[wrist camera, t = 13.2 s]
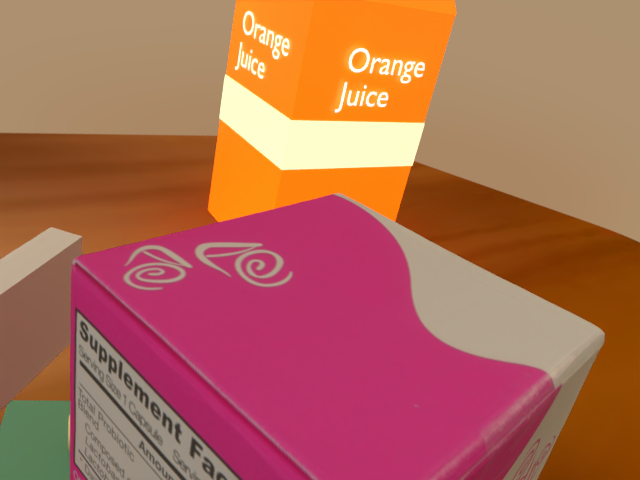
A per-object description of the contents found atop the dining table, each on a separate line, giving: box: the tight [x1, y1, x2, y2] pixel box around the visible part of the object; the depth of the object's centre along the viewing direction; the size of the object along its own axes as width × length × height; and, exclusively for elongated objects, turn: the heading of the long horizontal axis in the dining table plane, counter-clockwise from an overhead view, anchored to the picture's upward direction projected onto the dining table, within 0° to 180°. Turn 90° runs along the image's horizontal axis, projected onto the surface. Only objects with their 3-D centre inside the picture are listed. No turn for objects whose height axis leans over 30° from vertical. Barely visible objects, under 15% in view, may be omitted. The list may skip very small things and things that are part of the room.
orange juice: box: [208, 0, 456, 222], centre depth 33 cm, size 8×9×20 cm
